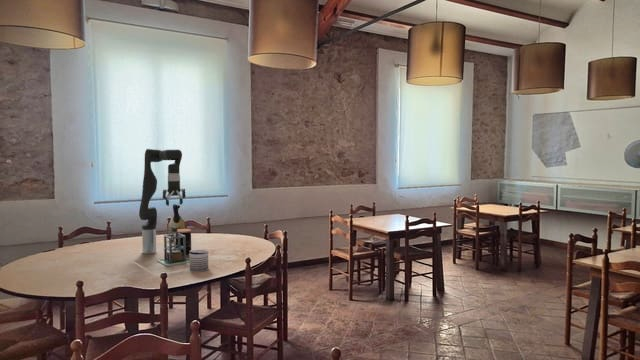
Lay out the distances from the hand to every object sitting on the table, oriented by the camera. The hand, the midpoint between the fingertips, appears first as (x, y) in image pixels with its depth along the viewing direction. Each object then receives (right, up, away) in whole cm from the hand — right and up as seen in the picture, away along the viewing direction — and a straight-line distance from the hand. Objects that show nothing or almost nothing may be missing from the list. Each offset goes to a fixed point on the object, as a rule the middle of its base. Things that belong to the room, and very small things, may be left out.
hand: (174, 205), depth 282 cm
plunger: (0, -31, +2) cm, 31 cm away
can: (+20, -40, -12) cm, 46 cm away
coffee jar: (-1, -37, +23) cm, 43 cm away
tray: (0, -38, +3) cm, 38 cm away
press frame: (0, -37, +3) cm, 37 cm away
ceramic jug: (-22, -33, +74) cm, 84 cm away
